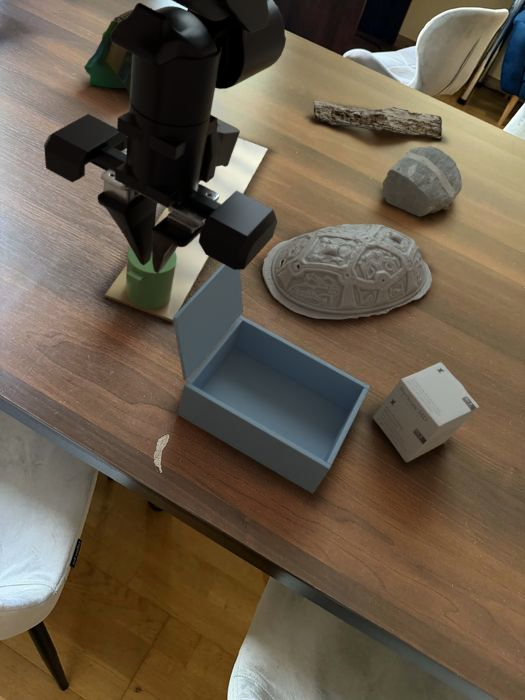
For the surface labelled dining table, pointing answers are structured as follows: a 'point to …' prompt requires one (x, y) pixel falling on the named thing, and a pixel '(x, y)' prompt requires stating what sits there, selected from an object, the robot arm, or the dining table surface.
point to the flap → (207, 317)
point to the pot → (149, 282)
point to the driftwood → (379, 119)
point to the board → (193, 255)
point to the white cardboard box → (424, 411)
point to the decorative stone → (423, 181)
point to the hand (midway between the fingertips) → (152, 266)
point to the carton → (273, 402)
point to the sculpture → (110, 61)
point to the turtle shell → (346, 271)
